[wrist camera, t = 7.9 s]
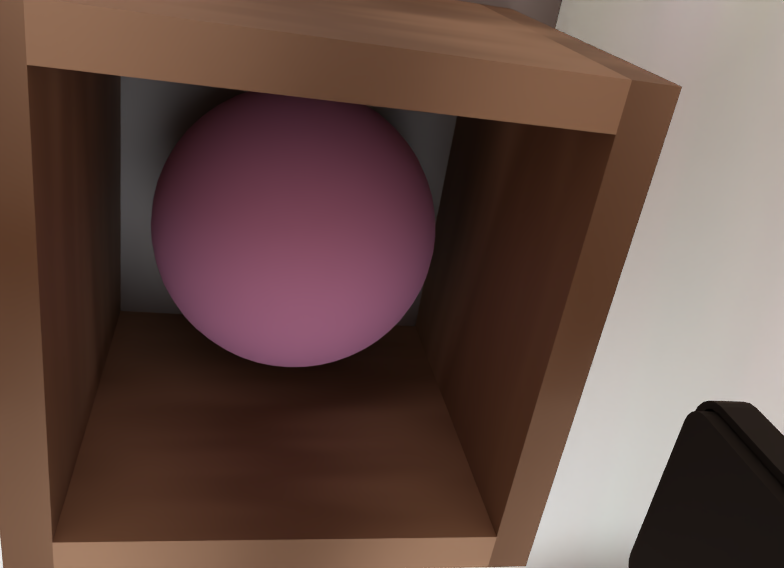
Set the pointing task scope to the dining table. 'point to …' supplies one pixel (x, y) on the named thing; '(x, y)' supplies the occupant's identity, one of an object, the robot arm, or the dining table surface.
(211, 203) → the plum ball
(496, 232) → the wooden cube shelf
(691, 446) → the robot arm
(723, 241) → the dining table surface
